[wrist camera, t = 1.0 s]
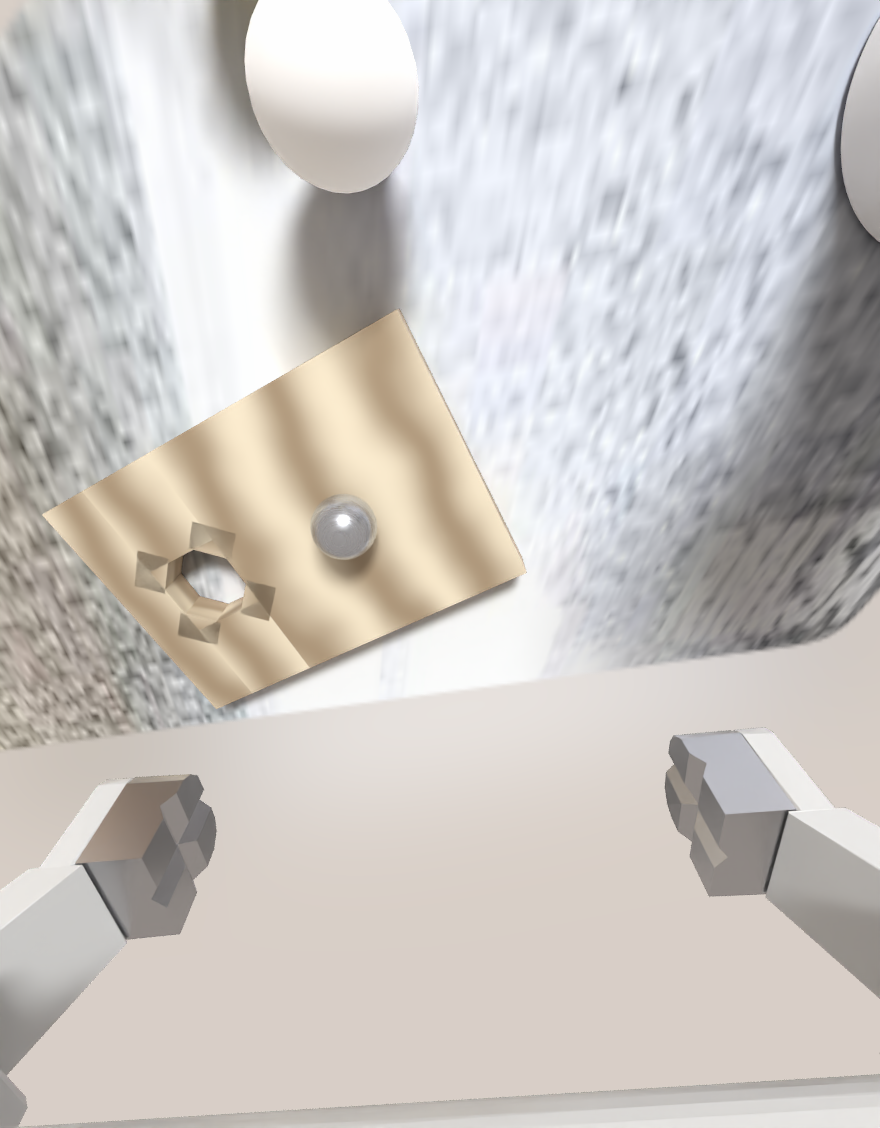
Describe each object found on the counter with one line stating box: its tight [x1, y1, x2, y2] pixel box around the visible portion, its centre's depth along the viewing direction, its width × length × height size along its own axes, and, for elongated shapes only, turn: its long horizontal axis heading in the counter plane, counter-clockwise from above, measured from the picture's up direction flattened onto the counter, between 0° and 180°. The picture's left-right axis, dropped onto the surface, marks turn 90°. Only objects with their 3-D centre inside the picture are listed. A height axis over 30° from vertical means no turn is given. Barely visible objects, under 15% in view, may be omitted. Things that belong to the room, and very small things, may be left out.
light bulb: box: [244, 0, 419, 194], centre depth 23 cm, size 7×7×11 cm
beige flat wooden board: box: [42, 309, 527, 709], centre depth 36 cm, size 26×18×2 cm
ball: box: [310, 494, 377, 560], centre depth 32 cm, size 4×4×4 cm
